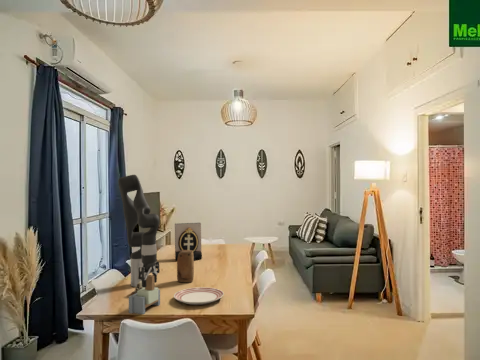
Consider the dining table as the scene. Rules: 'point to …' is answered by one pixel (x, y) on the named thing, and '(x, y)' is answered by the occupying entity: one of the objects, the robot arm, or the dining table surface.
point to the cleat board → (140, 303)
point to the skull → (137, 288)
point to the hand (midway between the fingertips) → (149, 284)
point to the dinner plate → (198, 295)
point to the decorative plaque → (188, 239)
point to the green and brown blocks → (149, 290)
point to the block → (185, 266)
